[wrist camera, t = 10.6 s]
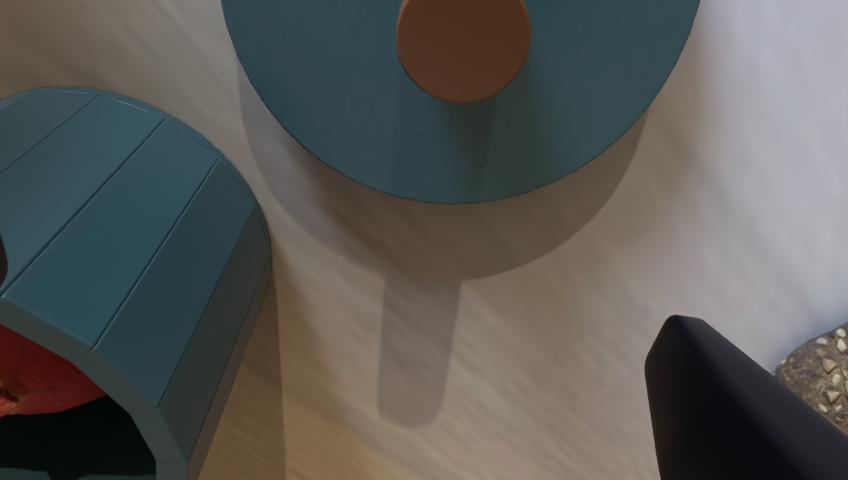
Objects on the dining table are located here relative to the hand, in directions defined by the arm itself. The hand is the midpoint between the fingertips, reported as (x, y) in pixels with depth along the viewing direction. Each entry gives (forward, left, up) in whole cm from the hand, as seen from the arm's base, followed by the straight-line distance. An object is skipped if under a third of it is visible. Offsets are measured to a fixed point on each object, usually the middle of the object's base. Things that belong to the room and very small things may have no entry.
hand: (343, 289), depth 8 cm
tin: (+11, -7, -12) cm, 18 cm away
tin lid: (-2, +1, -12) cm, 12 cm away
